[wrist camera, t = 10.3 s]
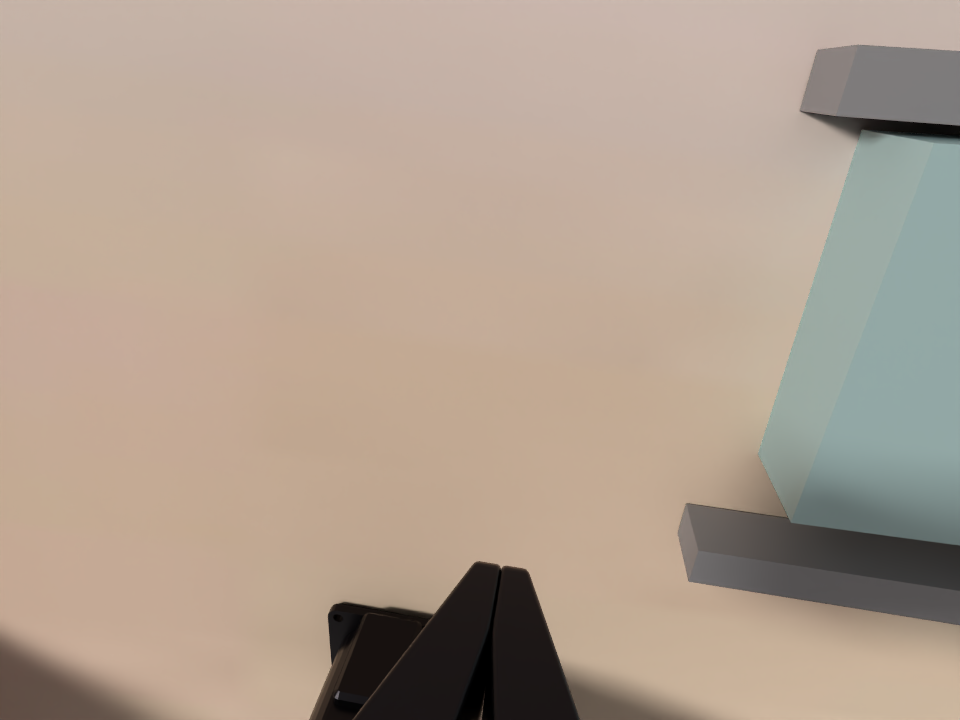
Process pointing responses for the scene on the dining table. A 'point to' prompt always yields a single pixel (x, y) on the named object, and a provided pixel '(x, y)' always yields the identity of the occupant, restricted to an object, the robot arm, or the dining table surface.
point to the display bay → (819, 550)
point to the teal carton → (879, 353)
